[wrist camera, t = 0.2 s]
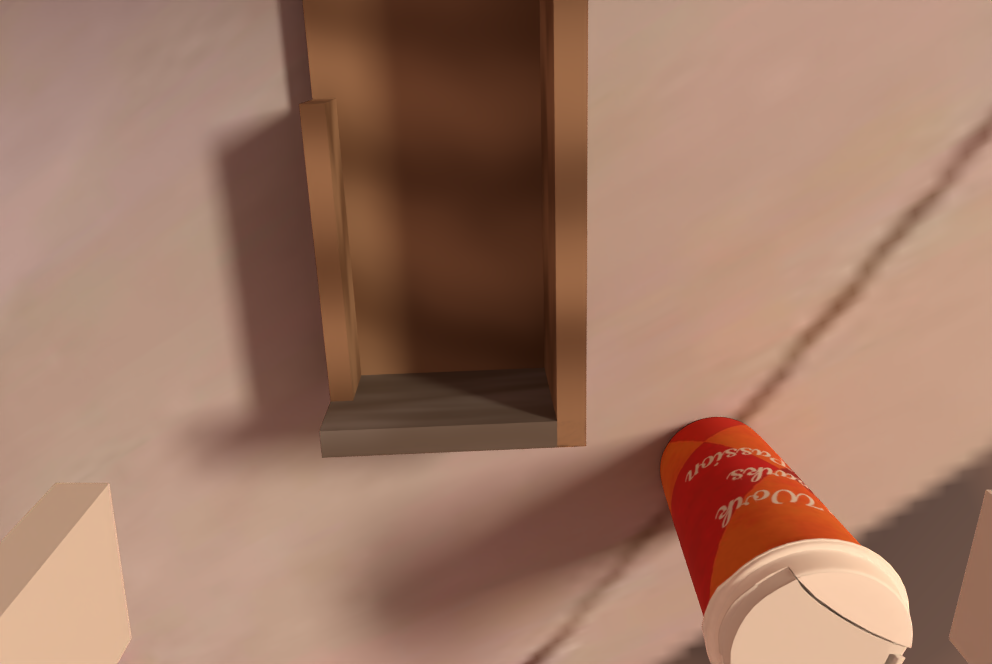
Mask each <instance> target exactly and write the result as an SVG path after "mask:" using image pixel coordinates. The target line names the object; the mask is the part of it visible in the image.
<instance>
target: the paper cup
mask: <svg viewBox="0 0 992 664" xmlns="http://www.w3.org/2000/svg"><path fill="white" fill-rule="evenodd" d="M660 475H661V481H662V485H663V489H664V493H665V496H666V500H667V503H668V506H669V510H670V513H671V516H672V519H673V522H674V526H675V529H676V532H677V535H678V538H679V541H680V544H681V548H682V551H683V554H684V557H685V560H686V563H687V566H688V569H689V572H690V576H691V579H692V582H693V585H694V588H695V591H696V594H697V597H698V600H699V603H700V606H701V610H702V613H703V616H704V618H703V623H702V630H703V635H704V639H705V645H706V650H707V655H708V657H709V660H710V662H711V664H902V663H903V661H904V659H905V658H904V657H903V656H902V655H903V653H904V651H905V650H906V648H907V647H910V648H911V645H912V636H913V633H912V622H911V618H910V615H909V604H908V603H909V602H908V597H907V594H906V590H905V587H904V585H903V583H902V581H901V579H900V577H899V575H898V574H897V573H896V572H895V570H894V569H893V568H892V566H891V565H890V564H889V563H888V562H886V561H885V560H884V559H883V558H882V557H881V556H879V555H878V554H876V553H875V552H873V551H871V550H869V549H868V548H866V547H863V546H861V545H860V544H859V543H858V542H857V541H856V539H855V538H854V537H853V536H852V535H851V534H850V533H849V532H848V531H847V530H846V529H845V527H844V526H843V525H842V524H841V523H840V522H839V521H838V520H837V519H836V518H835V516H834V515H833V514H832V513H831V512H830V511H829V510H828V509H827V508H826V507H825V506H824V504H823V503H822V502H821V501H820V500H819V499H818V498H817V497H816V496H815V495H814V494H813V492H812V491H811V490H810V489H809V488H808V487H807V486H806V485H805V484H804V483H803V482H802V480H801V479H800V478H799V477H798V476H797V475H796V474H795V473H794V472H793V471H792V470H791V469H790V467H789V466H788V465H787V464H786V463H785V462H784V461H783V460H782V459H781V458H780V457H779V456H778V455H777V454H776V453H775V451H774V450H773V449H772V448H771V447H770V446H769V445H768V444H767V443H766V442H765V441H764V440H763V439H762V438H761V437H760V436H759V435H758V434H757V433H756V432H755V431H753V430H752V429H751V428H750V427H748V426H747V425H745V424H744V423H742V422H740V421H737V420H734V419H731V418H726V417H710V418H705V419H701V420H698V421H695V422H693V423H691V424H689V425H687V426H685V427H684V428H682V429H681V430H680V431H679V432H677V433H676V434H675V435H674V436H673V438H672V439H671V440H670V441H669V443H668V444H667V446H666V448H665V450H664V452H663V455H662V458H661V464H660Z"/></svg>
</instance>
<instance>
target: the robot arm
mask: <svg viewBox="0 0 992 664" xmlns="http://www.w3.org/2000/svg"><path fill="white" fill-rule="evenodd" d="M130 640H131V631H130V624H129V617H128V611H127V604H126V597H125V590H124V583H123V576H122V569H121V562H120V555H119V548H118V541H117V534H116V527H115V520H114V513H113V506H112V499H111V492H110V485H109V483H55V484H54V485H53V486H52V487H51V489H50V490H49V491H48V492H47V493H46V494H45V495H44V496H43V497H42V498H41V499H40V500H39V501H38V502H37V503H36V505H35V506H34V507H33V508H32V509H31V510H30V511H29V512H28V513H27V514H26V515H25V516H24V517H23V518H22V519H21V521H20V522H19V523H18V524H17V525H16V526H15V527H14V528H13V529H12V530H11V531H10V532H9V533H8V534H7V536H6V537H5V538H4V539H3V540H2V541H1V542H0V664H117V663H118V661H119V660H120V658H121V656H122V654H123V653H124V651H125V649H126V647H127V646H128V644H129V642H130ZM949 640H950V641H951V642H952V643H953V645H954V646H955V647H956V648H957V650H958V651H959V652H960V653H961V655H962V656H963V657H964V658H965V660H967V662H968V663H969V664H992V490H986V492H985V496H984V500H983V504H982V508H981V512H980V516H979V520H978V524H977V528H976V532H975V536H974V540H973V544H972V548H971V552H970V556H969V560H968V564H967V568H966V571H965V576H964V580H963V584H962V588H961V591H960V595H959V600H958V603H957V607H956V611H955V615H954V620H953V624H952V627H951V631H950V635H949Z"/></svg>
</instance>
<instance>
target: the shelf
mask: <svg viewBox="0 0 992 664" xmlns="http://www.w3.org/2000/svg"><path fill="white" fill-rule="evenodd" d="M302 1H303V11H304V21H305V31H306V41H307V50H308V60H309V70H310V80H311V90H312V100H310V101H307V102H304V103H301V104H299V109H300V119H301V128H302V137H303V147H304V156H305V166H306V175H307V184H308V194H309V203H310V212H311V222H312V231H313V241H314V250H315V259H316V269H317V278H318V288H319V297H320V306H321V316H322V325H323V335H324V344H325V353H326V363H327V372H328V381H329V391H330V400H331V402H330V405H329V407H328V410H327V413H326V415H325V418H324V420H323V423H322V426H321V428H320V431H319V434H320V443H321V452H322V458H324V457H347V456H370V455H393V454H416V453H439V452H462V451H485V450H508V449H531V448H554V447H577V446H586V325H587V98H588V0H302Z"/></svg>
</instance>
